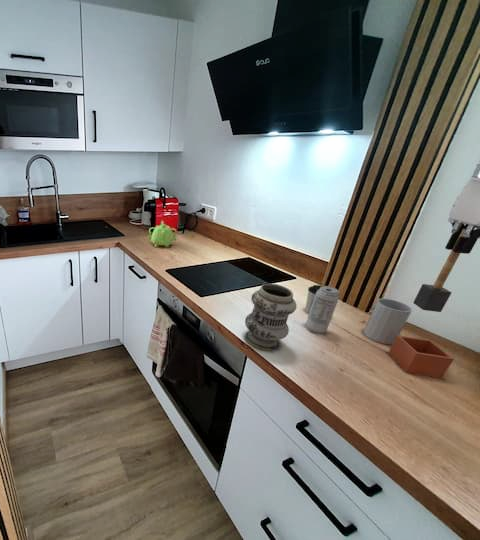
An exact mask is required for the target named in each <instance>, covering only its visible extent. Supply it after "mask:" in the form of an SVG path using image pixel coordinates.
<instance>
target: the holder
mask: <svg viewBox="0 0 480 540" xmlns="http://www.w3.org/2000/svg"><path fill="white" fill-rule="evenodd" d="M387 354H388V355H389V356H390V357H391V358H392V359H393V360H394V361H395V362H396V363H397V364H398V365H399V366H400V368H402V369H403V371H404V372H405V373H408V374H415V375H422V376H427V377H434V378H438V379H443V378H444V375H446V372H448V369H449V368H450V366H451V365H452V363H453V361H454V360H455V359H454V357H452V356H451V355H450V354H448V353H447V352H446V351H445V350H443V349H442V348H441V347H440V346H439V345H438V344H436V343H435V342H434V341H432V339H426V338H419V337H412V336H405V335H397V336H396V338H395V340H394V342H393V344H391V347H390V348H389V351H388V353H387Z"/></svg>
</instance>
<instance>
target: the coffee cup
mask: <svg viewBox="0 0 480 540" xmlns="http://www.w3.org/2000/svg"><path fill="white" fill-rule="evenodd" d="M321 286H322V285H321V284H320V285H319V284H314V285H312V286H309V287H308V289H307V290H308V291H307V298H306V302H305V308H304V311H305V312H306V313H307V314H309V313H310V310H311V307H312V304H313V301H314V298H315V295H316V292H317V290H319V289H320V287H321Z"/></svg>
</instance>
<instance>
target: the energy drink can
mask: <svg viewBox="0 0 480 540" xmlns="http://www.w3.org/2000/svg"><path fill="white" fill-rule="evenodd" d="M339 292H340V291H339V289H337V288H335V287H333V286H329V285H321V287H320V289H319V290H317V292H316V295H315V298H314V301H313V304H312V307H311V310H310V313H308V316H307V318H306V322H305V326H306V328H307V329H308V330H309V331H311V332H313V333H317V334H324V333H325V332H327V331H328V328H329V325H330V324H331V320H332V317H333V315H334V313H335V310H336V307H337V306H338V305H337V304H338V303H339V300H340V293H339Z"/></svg>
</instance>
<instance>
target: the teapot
mask: <svg viewBox="0 0 480 540" xmlns="http://www.w3.org/2000/svg"><path fill="white" fill-rule="evenodd" d="M152 230H153V231H152ZM151 231H152V232H151ZM173 231H174V233H173ZM148 233H149V235H148V236H147V239H148V240H151V242H152V244H154V247H159V246H164V247H165V248H170V245H171V244H172V243H173V242H175V241H177V233H178V231H177V229H176V228H171V227H170V226H169V225H167V224H166V223H165V222H164V220H161V221H160V225H155V226H152V227H150V228H149V229H148Z"/></svg>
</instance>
